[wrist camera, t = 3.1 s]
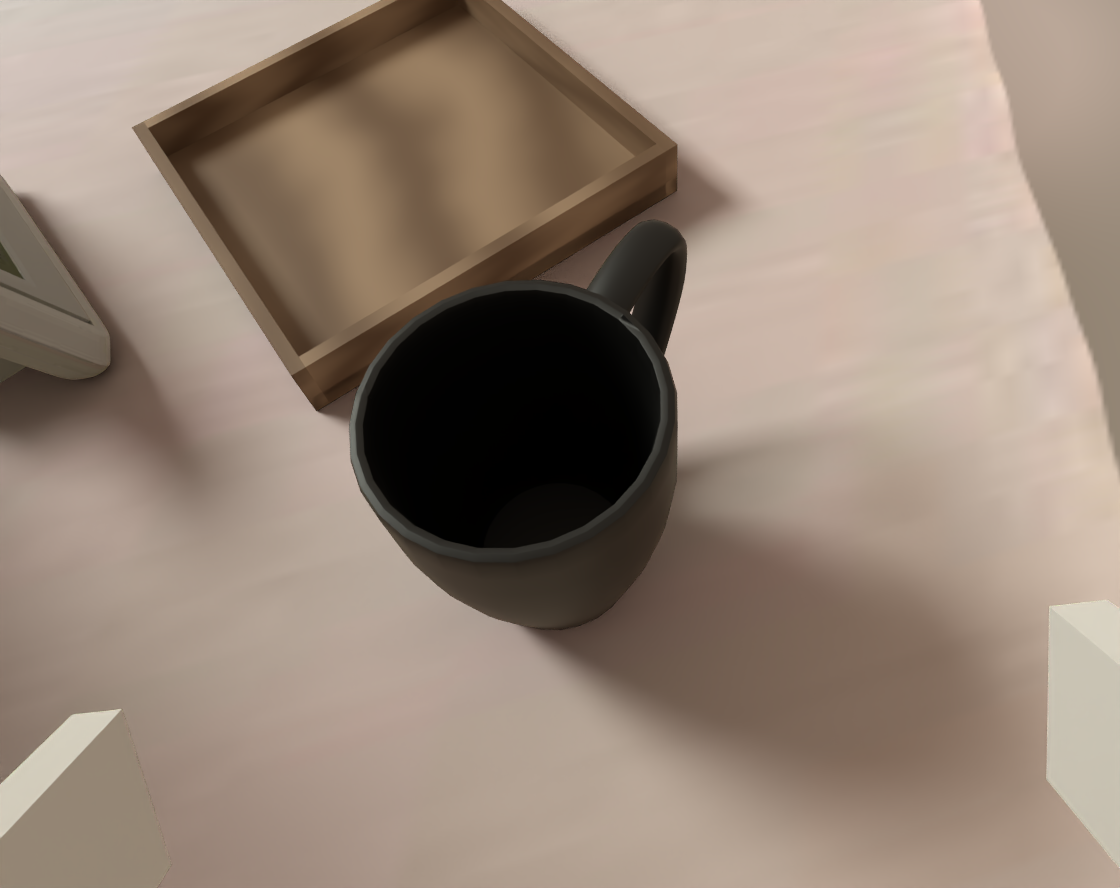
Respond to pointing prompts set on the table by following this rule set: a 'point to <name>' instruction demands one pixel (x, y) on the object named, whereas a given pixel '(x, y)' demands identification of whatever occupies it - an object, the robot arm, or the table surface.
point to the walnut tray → (401, 173)
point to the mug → (531, 435)
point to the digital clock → (42, 305)
